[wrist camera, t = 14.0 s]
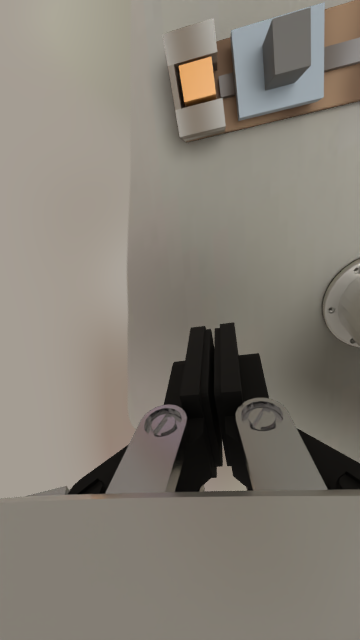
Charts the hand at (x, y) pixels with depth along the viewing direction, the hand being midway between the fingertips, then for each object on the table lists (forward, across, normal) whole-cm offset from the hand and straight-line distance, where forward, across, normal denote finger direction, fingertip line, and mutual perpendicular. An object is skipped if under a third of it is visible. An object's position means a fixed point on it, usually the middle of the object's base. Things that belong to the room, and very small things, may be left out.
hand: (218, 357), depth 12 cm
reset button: (+24, 0, -13) cm, 27 cm away
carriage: (+24, -7, -13) cm, 28 cm away
